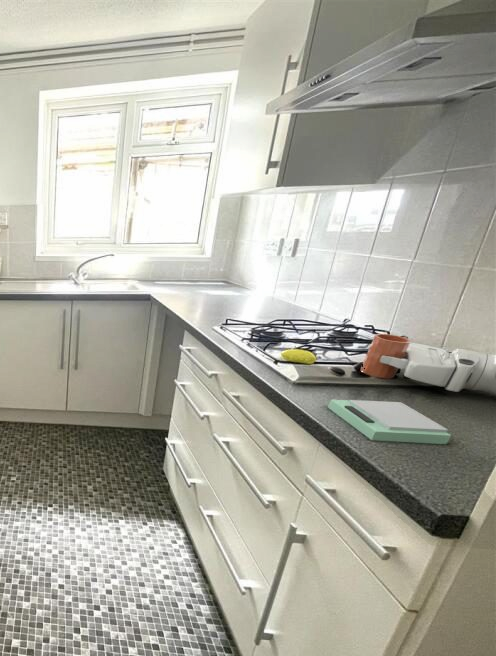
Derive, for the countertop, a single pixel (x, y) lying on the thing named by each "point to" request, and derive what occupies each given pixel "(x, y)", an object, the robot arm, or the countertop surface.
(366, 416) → the scale
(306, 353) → the lemon
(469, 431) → the countertop surface
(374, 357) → the orange mug
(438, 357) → the robot arm
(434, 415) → the countertop surface
